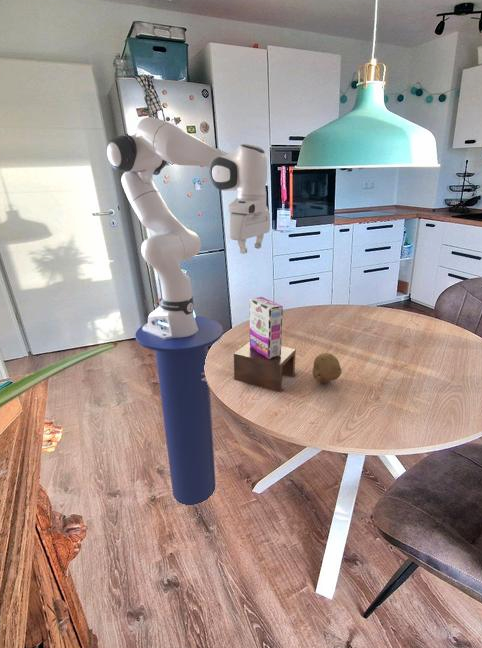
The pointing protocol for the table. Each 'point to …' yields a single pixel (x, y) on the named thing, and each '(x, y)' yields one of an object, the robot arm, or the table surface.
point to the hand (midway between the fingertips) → (250, 250)
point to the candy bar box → (265, 327)
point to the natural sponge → (326, 368)
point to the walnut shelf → (263, 367)
